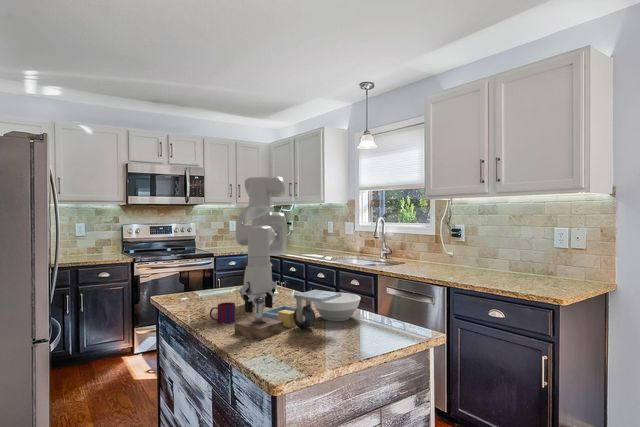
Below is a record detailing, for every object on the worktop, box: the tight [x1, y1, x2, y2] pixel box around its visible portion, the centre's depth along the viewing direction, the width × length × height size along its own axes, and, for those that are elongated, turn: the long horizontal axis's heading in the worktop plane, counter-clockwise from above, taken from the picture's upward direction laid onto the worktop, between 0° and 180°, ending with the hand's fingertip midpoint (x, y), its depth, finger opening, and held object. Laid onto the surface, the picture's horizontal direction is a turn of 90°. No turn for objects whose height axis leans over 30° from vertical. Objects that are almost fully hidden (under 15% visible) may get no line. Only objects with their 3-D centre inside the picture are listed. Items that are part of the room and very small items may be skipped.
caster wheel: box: [293, 289, 342, 331], centre depth 146 cm, size 12×16×13 cm
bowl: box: [312, 292, 362, 322], centre depth 162 cm, size 19×20×8 cm
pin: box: [254, 297, 264, 325], centre depth 143 cm, size 4×4×12 cm
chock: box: [278, 310, 296, 328], centre depth 153 cm, size 4×6×5 cm, turn 53°
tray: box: [263, 304, 296, 320], centre depth 165 cm, size 14×11×2 cm
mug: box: [209, 301, 236, 325], centre depth 157 cm, size 7×10×7 cm
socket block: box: [234, 317, 284, 340], centre depth 143 cm, size 12×12×4 cm
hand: (258, 310), depth 143 cm, fingers open, 9 cm apart
